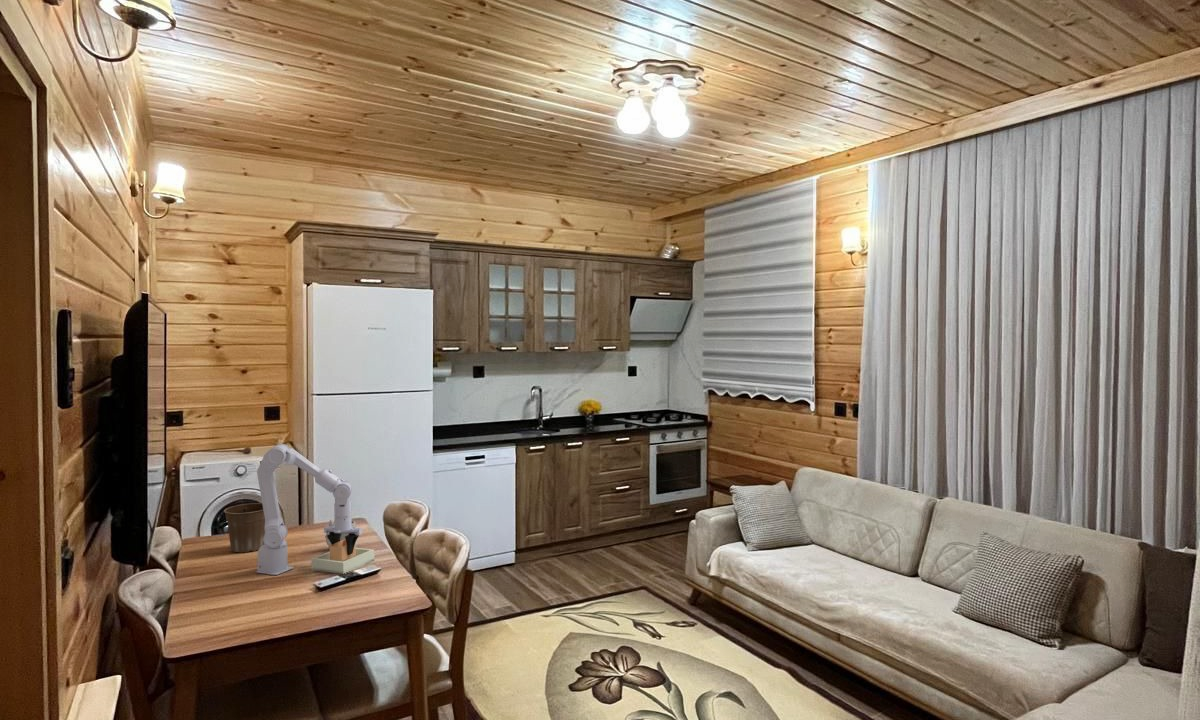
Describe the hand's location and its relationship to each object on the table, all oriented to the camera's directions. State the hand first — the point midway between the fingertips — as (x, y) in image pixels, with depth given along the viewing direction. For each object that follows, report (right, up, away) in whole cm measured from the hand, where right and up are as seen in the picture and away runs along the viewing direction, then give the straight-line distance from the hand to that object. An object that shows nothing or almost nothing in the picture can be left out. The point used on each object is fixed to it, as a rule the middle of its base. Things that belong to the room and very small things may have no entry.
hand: (343, 553), depth 243 cm
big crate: (0, -4, 0) cm, 4 cm away
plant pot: (-45, -5, +21) cm, 50 cm away
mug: (-8, -4, +20) cm, 22 cm away
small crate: (0, -2, 0) cm, 2 cm away
